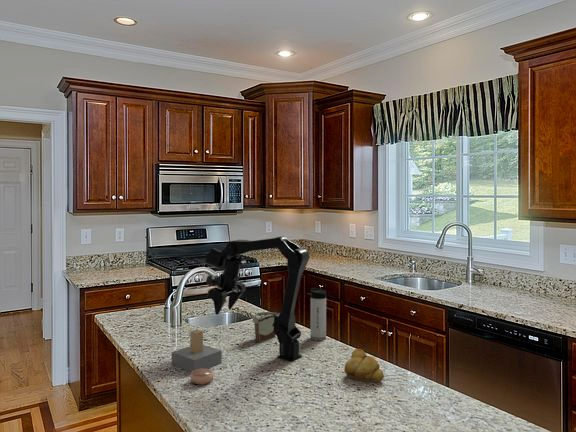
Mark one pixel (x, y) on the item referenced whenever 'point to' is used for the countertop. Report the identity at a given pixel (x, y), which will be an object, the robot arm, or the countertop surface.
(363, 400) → the countertop surface
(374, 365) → the bread roll
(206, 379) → the bowl
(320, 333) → the travel mug
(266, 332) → the food container
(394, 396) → the countertop surface
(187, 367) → the cover
